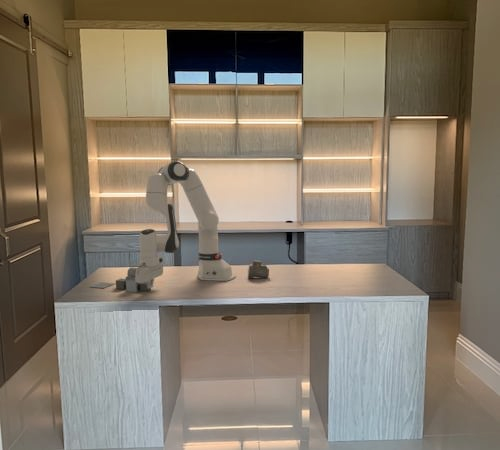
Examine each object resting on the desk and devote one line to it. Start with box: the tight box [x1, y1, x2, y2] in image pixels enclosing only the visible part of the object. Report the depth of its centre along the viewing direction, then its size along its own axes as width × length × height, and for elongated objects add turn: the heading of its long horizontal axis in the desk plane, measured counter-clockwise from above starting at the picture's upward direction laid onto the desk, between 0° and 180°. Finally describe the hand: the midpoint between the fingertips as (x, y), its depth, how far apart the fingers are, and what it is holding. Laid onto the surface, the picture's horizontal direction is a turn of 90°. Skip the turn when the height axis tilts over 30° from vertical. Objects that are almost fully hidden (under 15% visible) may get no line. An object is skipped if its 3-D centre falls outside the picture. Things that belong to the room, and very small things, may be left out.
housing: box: [125, 266, 140, 293], centre depth 230 cm, size 6×9×12 cm, turn 159°
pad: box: [89, 282, 115, 290], centre depth 238 cm, size 9×9×1 cm
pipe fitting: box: [247, 260, 270, 279], centre depth 251 cm, size 12×8×10 cm
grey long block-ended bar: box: [114, 278, 152, 293], centre depth 231 cm, size 20×4×4 cm, turn 69°
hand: (150, 287), depth 227 cm, fingers closed, pressing on grey long block-ended bar
